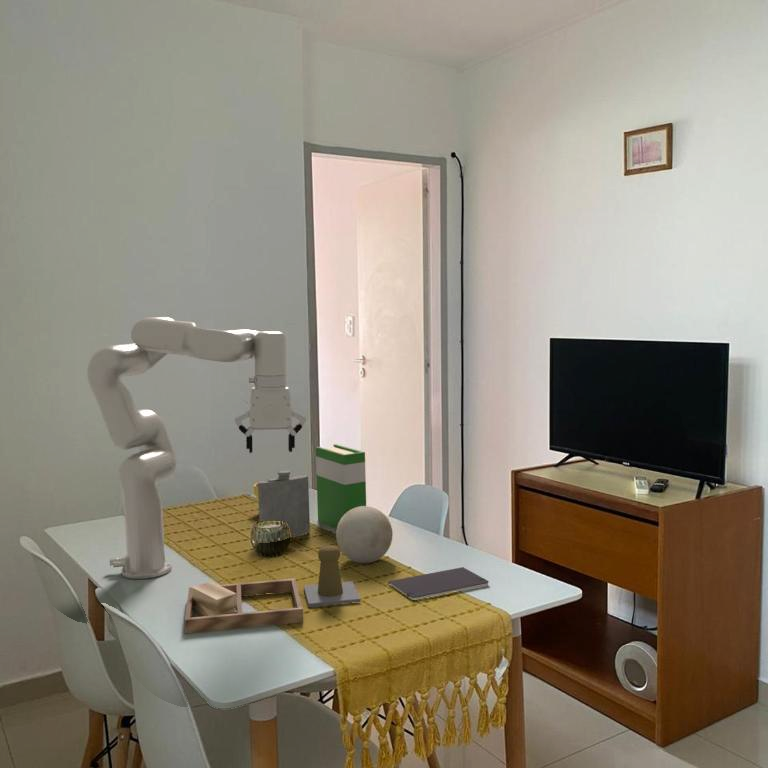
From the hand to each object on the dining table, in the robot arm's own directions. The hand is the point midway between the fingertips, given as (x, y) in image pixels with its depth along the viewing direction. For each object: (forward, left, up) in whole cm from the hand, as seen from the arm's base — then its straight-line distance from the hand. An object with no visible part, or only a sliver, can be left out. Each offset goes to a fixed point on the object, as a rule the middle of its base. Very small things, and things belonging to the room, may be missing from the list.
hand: (270, 451), depth 199 cm
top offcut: (-15, -17, -31) cm, 38 cm away
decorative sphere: (+24, +10, -33) cm, 43 cm away
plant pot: (+2, +68, -33) cm, 76 cm away
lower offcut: (-15, -17, -34) cm, 41 cm away
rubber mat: (+12, -13, -33) cm, 38 cm away
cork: (+12, -13, -32) cm, 37 cm away
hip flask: (+5, +39, -33) cm, 52 cm away
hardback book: (+23, +47, -33) cm, 62 cm away
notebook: (+39, -12, -34) cm, 53 cm away
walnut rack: (-8, -17, -33) cm, 38 cm away
